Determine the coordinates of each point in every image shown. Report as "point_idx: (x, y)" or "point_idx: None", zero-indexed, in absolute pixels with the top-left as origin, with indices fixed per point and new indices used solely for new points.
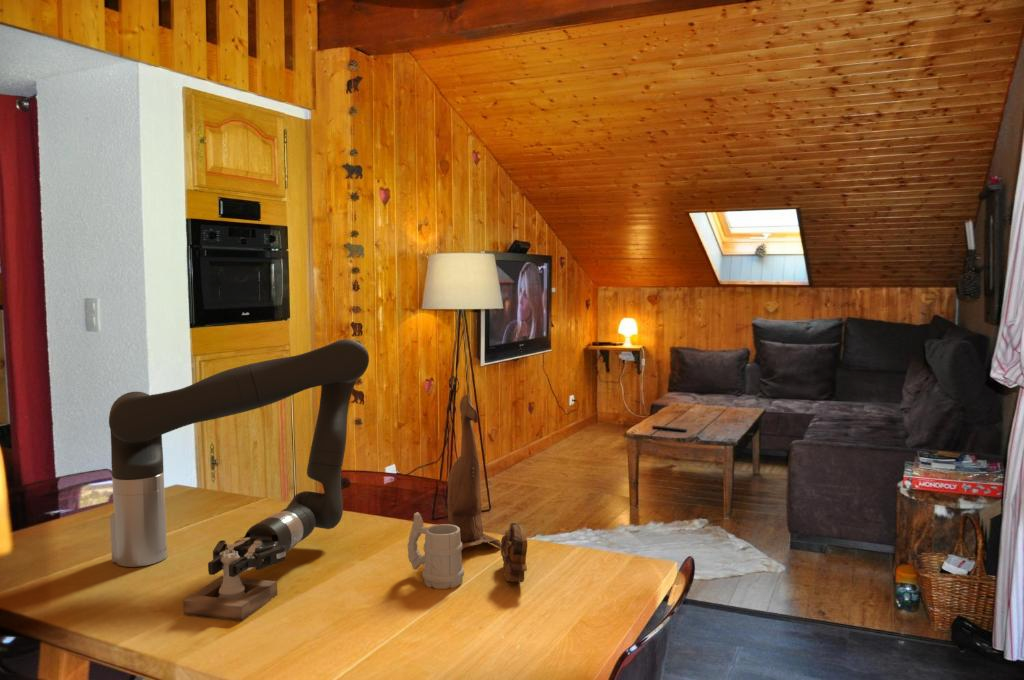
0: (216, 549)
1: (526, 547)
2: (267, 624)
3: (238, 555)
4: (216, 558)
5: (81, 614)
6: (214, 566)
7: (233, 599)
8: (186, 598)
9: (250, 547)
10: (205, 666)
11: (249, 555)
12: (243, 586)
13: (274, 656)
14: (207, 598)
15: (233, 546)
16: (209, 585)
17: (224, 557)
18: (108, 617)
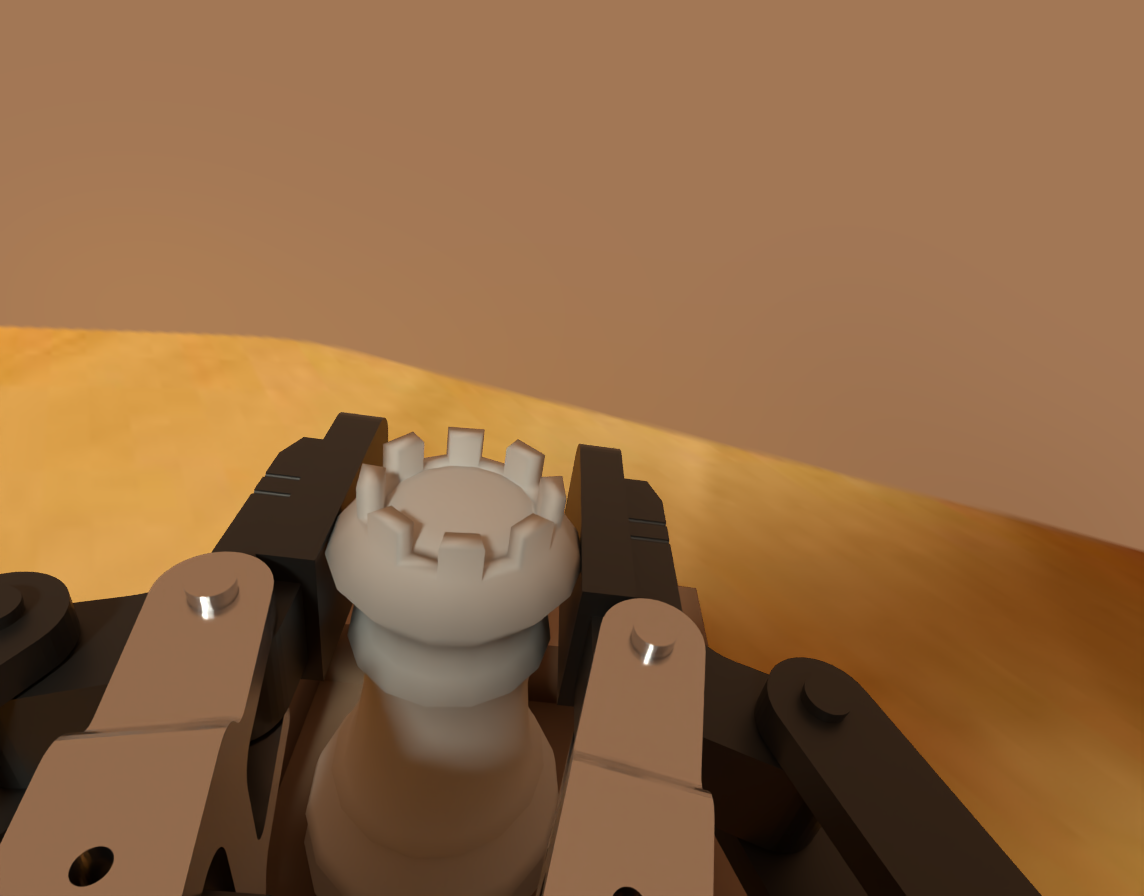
0: (883, 765)
1: None
2: (71, 593)
3: (353, 539)
4: (616, 512)
5: (1135, 613)
6: (571, 494)
7: (346, 621)
8: (695, 609)
9: (185, 776)
10: (313, 353)
11: (179, 582)
12: (321, 814)
13: (38, 381)
14: (555, 621)
15: (610, 789)
16: (725, 862)
17: (500, 463)
18: (993, 598)
